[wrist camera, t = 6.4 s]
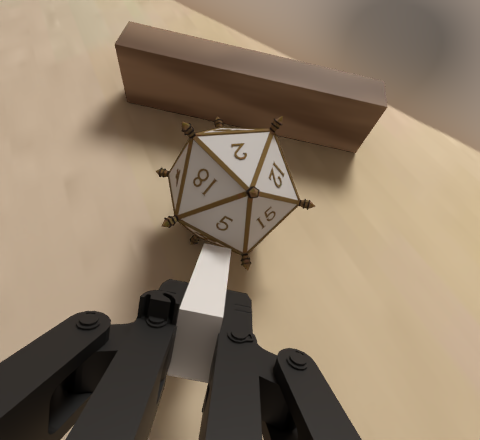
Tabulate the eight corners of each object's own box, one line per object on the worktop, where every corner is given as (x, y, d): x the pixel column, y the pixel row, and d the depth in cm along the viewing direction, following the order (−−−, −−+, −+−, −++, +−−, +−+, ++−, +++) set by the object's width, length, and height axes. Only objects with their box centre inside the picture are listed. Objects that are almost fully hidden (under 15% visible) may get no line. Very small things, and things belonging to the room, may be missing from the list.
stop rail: (138, 79, 27) (129, 21, 23) (354, 128, 28) (384, 81, 24) (127, 101, 26) (114, 44, 22) (355, 152, 27) (387, 106, 22)
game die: (195, 242, 25) (99, 152, 18) (272, 171, 25) (207, 58, 19) (256, 320, 18) (140, 223, 11) (357, 221, 19) (304, 75, 12)
